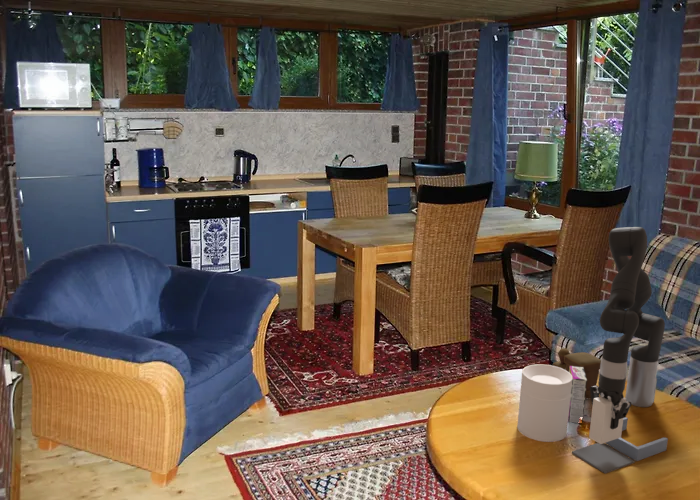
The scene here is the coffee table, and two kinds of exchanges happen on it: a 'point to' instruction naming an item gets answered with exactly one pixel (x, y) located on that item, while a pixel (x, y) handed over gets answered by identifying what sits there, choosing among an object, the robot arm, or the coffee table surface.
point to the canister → (544, 402)
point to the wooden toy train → (581, 360)
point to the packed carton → (603, 422)
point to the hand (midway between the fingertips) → (606, 424)
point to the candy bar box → (577, 393)
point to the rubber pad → (603, 457)
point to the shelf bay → (639, 451)
